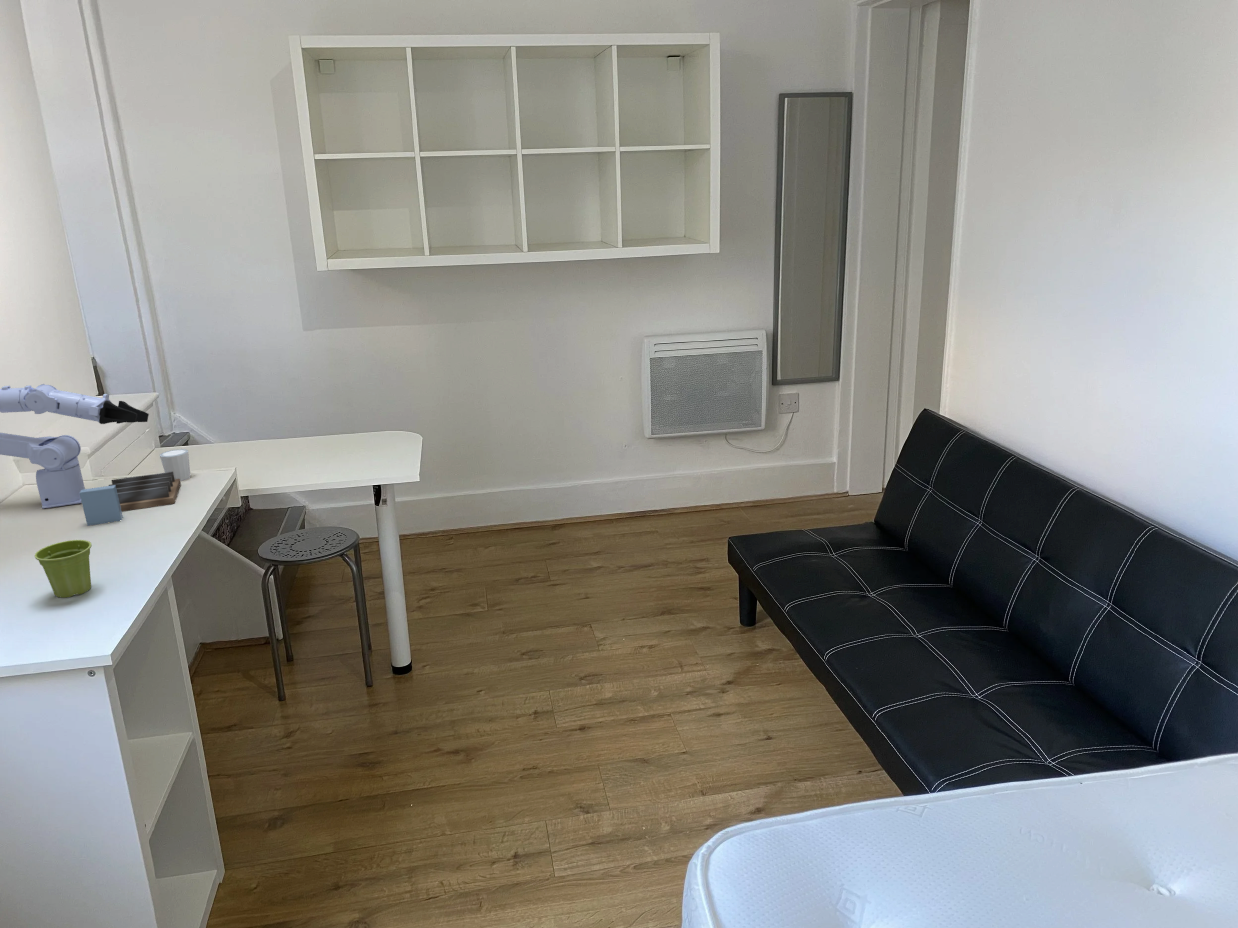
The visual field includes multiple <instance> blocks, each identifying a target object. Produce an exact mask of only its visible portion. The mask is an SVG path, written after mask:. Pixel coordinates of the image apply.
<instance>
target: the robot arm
mask: <svg viewBox="0 0 1238 928" xmlns="http://www.w3.org/2000/svg"><path fill="white" fill-rule="evenodd" d="M24 412H25V413H26V412H34V414H35V415H42V414H44V413H51V414H57V415H61V416H67V417H73V418H77V419H83V420H86V421H87V420H88V421H93V422H97V423H99V424H100V425H106V424H111V423H116V424H117V425H118V424H123V423H148V421H149V415H150V414H149V413H148V412H146V411H144V410H141V409H138V408H136V407H134V406H132V405H130V404H128V403H127V402H126V401H124V400H118V404H117V405H116V404H114V403H113V402H112V401H111V400H110V394H107V393H104V394H103V395H102V397H97V396H92V395H87V394H83V393H77V392H73V391H68V390H67V391H65V390H60V389H57V388H56V387H55V386H54V385H51V384H45V383H43V384H40V385H38V386H36V387H35V388H34V387H32V385H26V386H24V387H12V388H11V385H4V386H2V387H1V388H0V413H3V414H4V413H5V414H6V413H24ZM81 451H82V447H81V444H80V442H79V441H78V439H77V438H75V437H74V436H72V435H69V434H61V435H58V436H50V435H49V436H41V437H40V436H39V437H34V436H26V435H20V434H19V435H18V434H12V433H8V432H7V433H5V432H0V456H6V457H7V456H9V457H14V458H20V459H21V458H23V459H28V460H29V462H30V463H31V464H34V465H37V466H41V467H42V468H39V469H37V470H36V472H35V480H36V481H35V482H36V487H37V490H38V495H39V499H40V502H41V505H42V506H41V509H47V508H50V509H51V508H55V507H63V506H69V505H77V504H82V501H81V497H80V491H81V490H83V489H86V486H85V482H84V479H83V475H82V470H81V466H80V462H79V455H80V454H81Z"/></svg>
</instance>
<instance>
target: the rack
mask: <svg viewBox="0 0 1238 928" xmlns="http://www.w3.org/2000/svg"><path fill="white" fill-rule="evenodd" d="M181 482H182V481H180V479H174V474H173V472H166V473H165V472H160V473H154V474H153V473H152V474H145V475H137V476H130V477H123V478H116V479H111V484H108V485H107V486H112V485H116V489H117V493H118V498H119V502H120V507H121V511H122V512H126V511H127V512H128V511H133V510H134V511H135V510H141V509H148V508H154V507H161V506H169V505H173V504H174V505H175V502H176V500H177V497H178V494H179V491H180V487H181V485H182V483H181Z"/></svg>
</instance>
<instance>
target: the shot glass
mask: <svg viewBox="0 0 1238 928" xmlns="http://www.w3.org/2000/svg"><path fill="white" fill-rule="evenodd" d="M189 455H190V454H189V450H188V449H185V448H184V449H182V448H181V449H178V448H177V449H172V450H167V451H165V452H162V453H160V454H159V459H160V461H161V464H162V468H163V471H164V473H166V472H173V474H174V479H180V482H182V481H185V480H188V479H190V478H191V477H192V476H191V465H190V458H189V457H190V456H189Z"/></svg>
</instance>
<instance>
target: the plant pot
mask: <svg viewBox="0 0 1238 928" xmlns="http://www.w3.org/2000/svg"><path fill="white" fill-rule="evenodd" d="M92 546H93V545H92V542H90V541H89V540H86V539H71V540H70V539H69V540H65V541H60V542H59V541H58V542H55V543H53V544H50V545H49V544H48V545H47V546H44V547H43V548H41V549H39V550H38V551H36V552H35V553H34V558H35V560H36V561H38V562H39V565H41V566H42V569H43V570H44V571H43V572H44V573H45V575H46V577H47V580H48V583H49V584H50V585H49V586H51V589H52V591H53V594H54V595H55V596H56V597H57V598H71V597H73V596H75V595H83V594H85V593H87V592H88V591H90V590H91V588H92V578H91V567H90V566H91V564H90V555H91V549H92Z"/></svg>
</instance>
